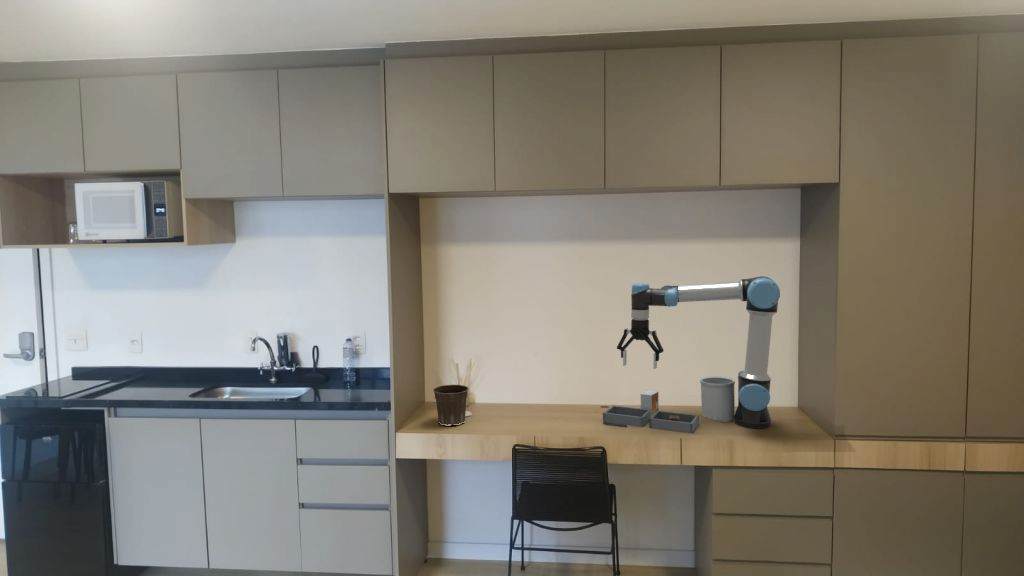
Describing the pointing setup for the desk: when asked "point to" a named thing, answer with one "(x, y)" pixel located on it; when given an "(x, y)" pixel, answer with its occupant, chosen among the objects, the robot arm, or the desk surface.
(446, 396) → the plant pot
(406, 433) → the desk surface
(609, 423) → the bin
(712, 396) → the utensil holder
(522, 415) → the desk surface
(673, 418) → the walnut block
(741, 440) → the desk surface
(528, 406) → the desk surface
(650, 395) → the small box
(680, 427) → the bin
